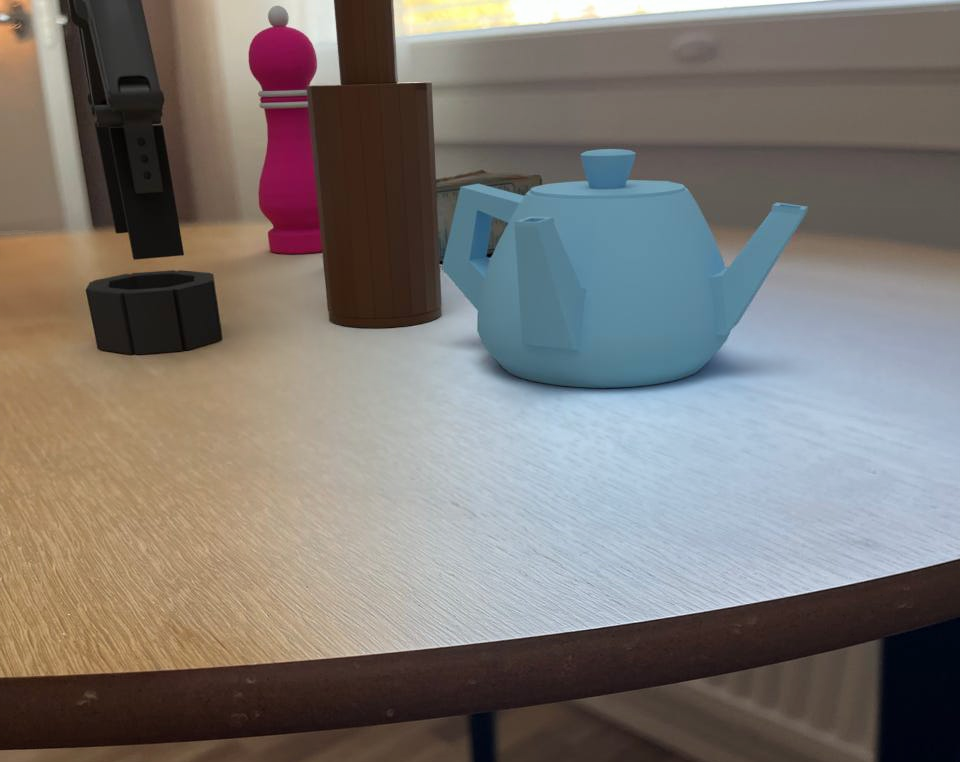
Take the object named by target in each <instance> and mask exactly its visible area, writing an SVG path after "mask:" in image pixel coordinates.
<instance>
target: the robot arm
mask: <svg viewBox="0 0 960 762" xmlns="http://www.w3.org/2000/svg"><path fill="white" fill-rule="evenodd" d="M142 1H143V0H67V5H68V10H69V15H70V18H71V22H72V23H73V24H74V25H75V26H76V29H77V33H78V41H79V46H80V52H81V57H82V58H81V59H82V63H83V69H84V74H85V80H86V86H87V90H88V91H87V92H88V93H87V94H86V98H87V104H88V105H89V106H90V112H91V115H92V116H93V117H94V119H95V122H94V129H95V133H96V139H97V142H98V149H99V155H100V158H101V164H102V170H103V175H104V180H105V184H106V191H107V195H108V200H109V206H110V210H111V211H110V212H111V216H112V221H113V227H114V233H115V234H128V239H129V244H130V250H131V255H132V259H133V260H134V261H135V260H136V261H137V260H147V259H158V258H169V257H170V258H171V257H181V256H185V251H184V248H183V240H182V234H181V228H180V221H179V216H178V209H177V204H176V197H175V191H174V185H173V179H172V173H171V167H170V162H169V161H170V160H169V155H168V154H169V153H168V149H167V143H166V138H165V131H164V125H163V124H162V117H163V116H164V115H163V114H164V113H163V110H164V105H165V95H164V92H163V90H162V89H161V87H160V82H159V78H158V72H157V68H156V63H155V58H154V53H153V48H152V44H151V39H150V34H149V30H148V26H147V25H148V24H147V20H146V16H145V11H144V6H143V2H142Z"/></svg>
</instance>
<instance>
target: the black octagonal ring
mask: <svg viewBox="0 0 960 762" xmlns="http://www.w3.org/2000/svg"><path fill="white" fill-rule="evenodd" d="M85 294H86V298H87V303H88V308H89V313H90V319H91V323H92V328H93V333H94V338H95V342H96V347H97V349H98V350H100V351H105V352H111V353H118V354H124V355H134V354H135V355H137V356H138V355H151V354H163V353H176V352H183V351H190V350H194V349H196V348H201V347H204V346H207V345H210V344H213V343H217V342H220V341H221V340H223V332H222V325H221V317H220V311H219V305H218V303H219V302H218V296H217V291H216V284H215V277H214V273H211V272H203V271H191V270H182V269H180V270H174V269H173V270H158V271H142V272H132V273H123V274H120V275H119V274H118V275H114V276H109V277H105V278H104V277H103V278H99V279H95V280H93V281H89V282H88V285H87V286H86V289H85Z"/></svg>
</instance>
